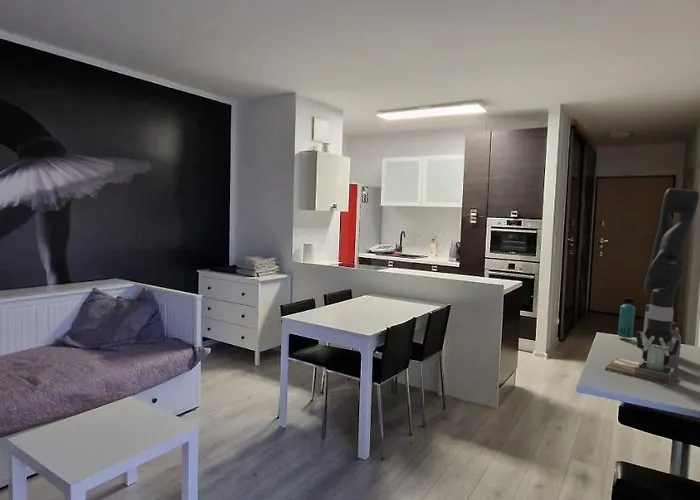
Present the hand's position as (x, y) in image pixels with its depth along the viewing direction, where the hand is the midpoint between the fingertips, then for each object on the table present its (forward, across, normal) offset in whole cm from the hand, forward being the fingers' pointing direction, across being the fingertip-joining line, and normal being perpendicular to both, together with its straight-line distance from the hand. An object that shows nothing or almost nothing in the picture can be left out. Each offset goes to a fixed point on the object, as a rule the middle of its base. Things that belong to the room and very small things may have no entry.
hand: (655, 362), depth 173 cm
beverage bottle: (+5, +21, -49) cm, 54 cm away
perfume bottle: (+5, -1, -16) cm, 17 cm away
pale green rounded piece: (+2, 0, +1) cm, 2 cm away
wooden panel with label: (+5, +4, -1) cm, 7 cm away
